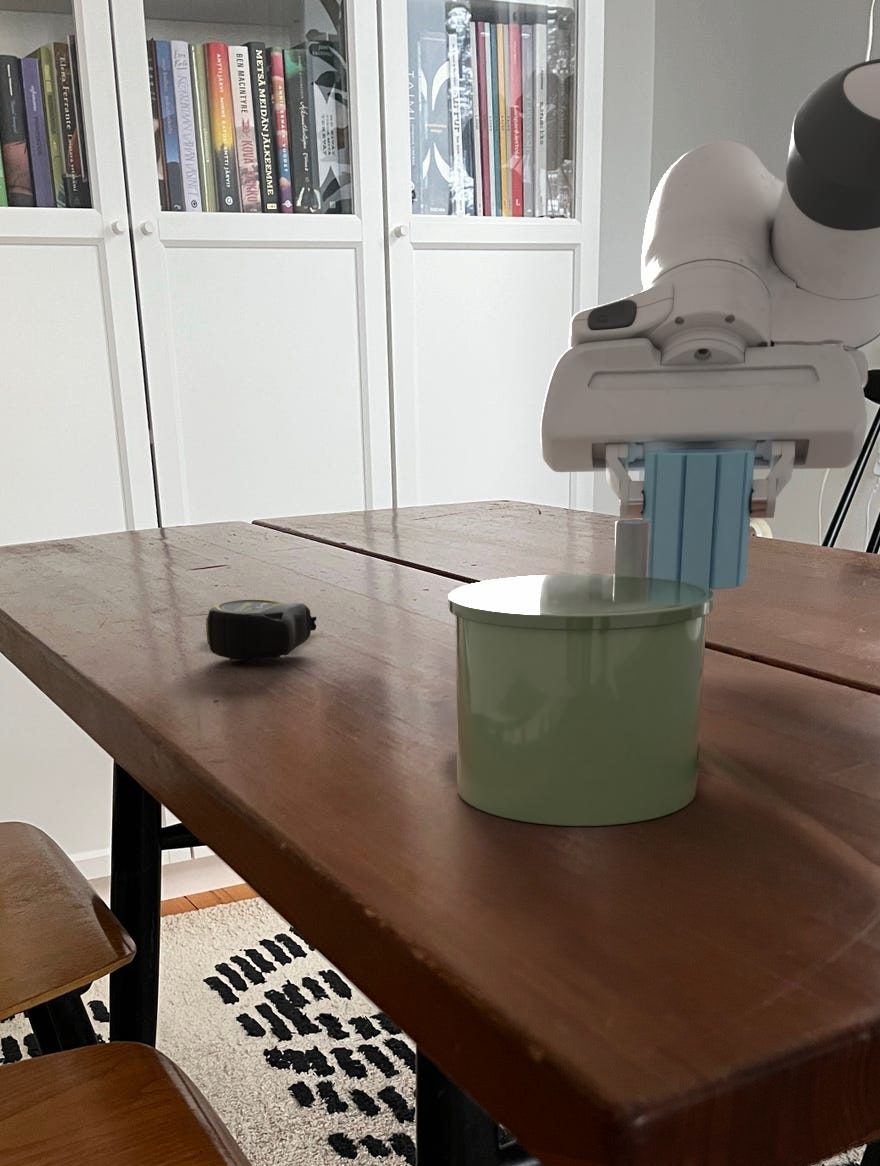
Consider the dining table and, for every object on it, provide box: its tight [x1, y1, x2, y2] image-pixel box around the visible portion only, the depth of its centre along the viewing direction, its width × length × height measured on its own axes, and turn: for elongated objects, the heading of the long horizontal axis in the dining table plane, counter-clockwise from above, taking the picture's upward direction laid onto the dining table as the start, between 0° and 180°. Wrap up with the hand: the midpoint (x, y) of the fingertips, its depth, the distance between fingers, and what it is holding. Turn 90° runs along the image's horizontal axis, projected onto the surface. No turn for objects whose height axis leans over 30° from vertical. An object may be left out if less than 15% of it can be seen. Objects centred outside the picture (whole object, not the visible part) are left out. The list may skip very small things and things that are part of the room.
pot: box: [447, 519, 716, 827], centre depth 60 cm, size 20×12×11 cm, turn 158°
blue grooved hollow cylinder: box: [642, 448, 755, 591], centre depth 79 cm, size 6×7×8 cm
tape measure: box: [205, 599, 317, 663], centre depth 88 cm, size 7×7×4 cm
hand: (695, 512), depth 78 cm, fingers closed on blue grooved hollow cylinder, 6 cm apart
